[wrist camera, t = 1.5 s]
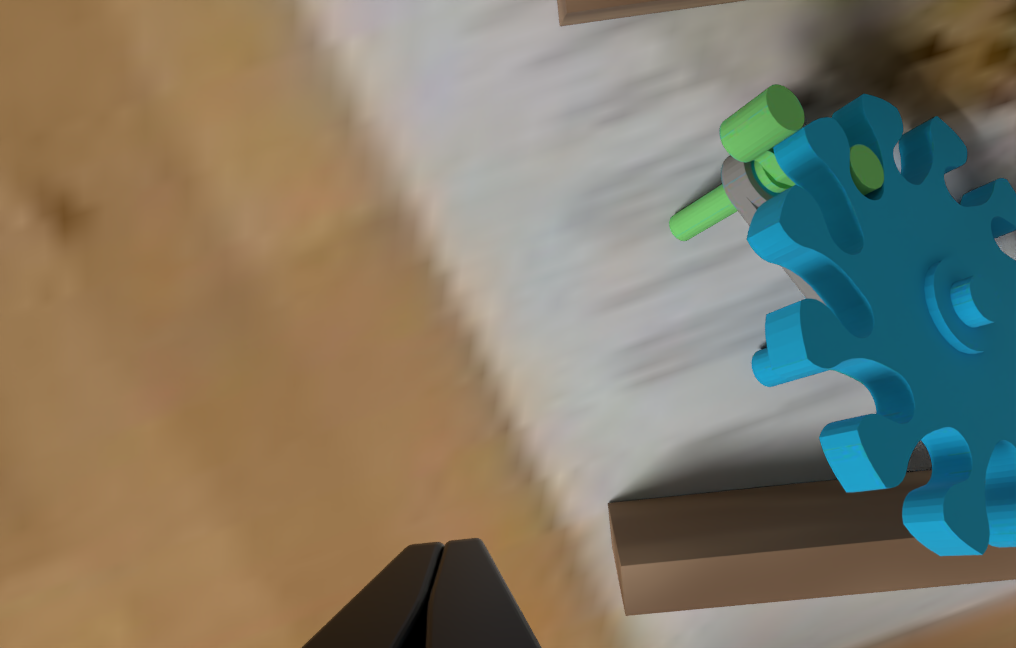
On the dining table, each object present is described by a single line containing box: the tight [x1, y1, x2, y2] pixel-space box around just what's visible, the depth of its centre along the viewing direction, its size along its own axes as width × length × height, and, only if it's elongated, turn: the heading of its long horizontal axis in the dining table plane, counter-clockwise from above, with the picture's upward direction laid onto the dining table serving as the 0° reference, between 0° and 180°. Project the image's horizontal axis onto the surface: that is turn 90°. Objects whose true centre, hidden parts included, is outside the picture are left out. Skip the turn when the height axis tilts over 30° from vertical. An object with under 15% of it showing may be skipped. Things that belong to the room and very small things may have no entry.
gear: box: [669, 85, 1016, 556], centre depth 17 cm, size 11×6×10 cm
